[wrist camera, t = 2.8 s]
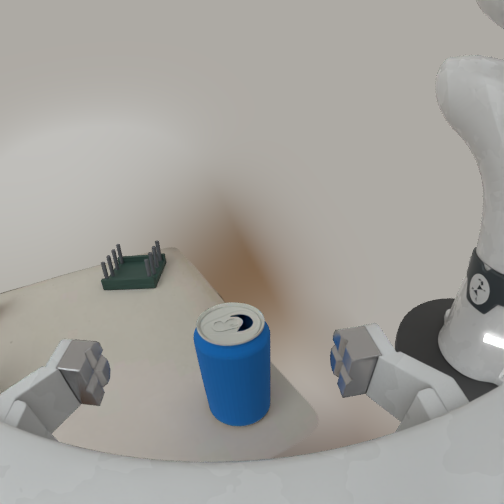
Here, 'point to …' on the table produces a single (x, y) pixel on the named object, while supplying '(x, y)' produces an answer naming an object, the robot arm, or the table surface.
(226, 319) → the beverage can
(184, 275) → the table surface
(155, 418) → the table surface
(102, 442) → the table surface
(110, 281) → the drying rack
